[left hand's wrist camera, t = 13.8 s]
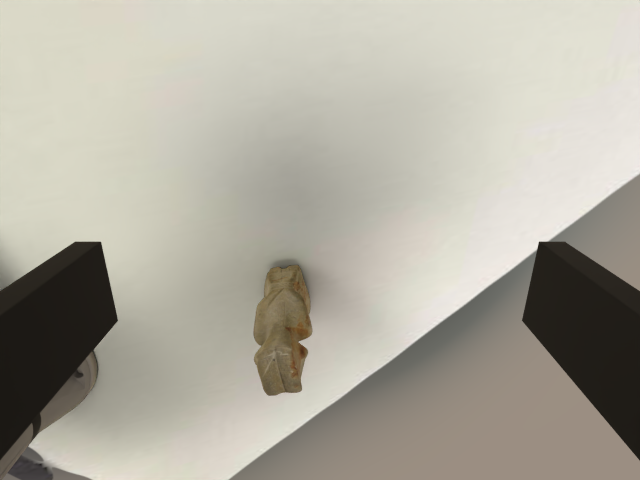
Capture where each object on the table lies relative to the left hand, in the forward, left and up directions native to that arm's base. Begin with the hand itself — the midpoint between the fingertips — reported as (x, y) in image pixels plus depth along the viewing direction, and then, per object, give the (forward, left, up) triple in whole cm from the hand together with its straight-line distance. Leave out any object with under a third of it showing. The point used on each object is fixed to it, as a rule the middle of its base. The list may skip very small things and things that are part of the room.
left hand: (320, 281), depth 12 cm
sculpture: (-15, -9, -32) cm, 36 cm away
